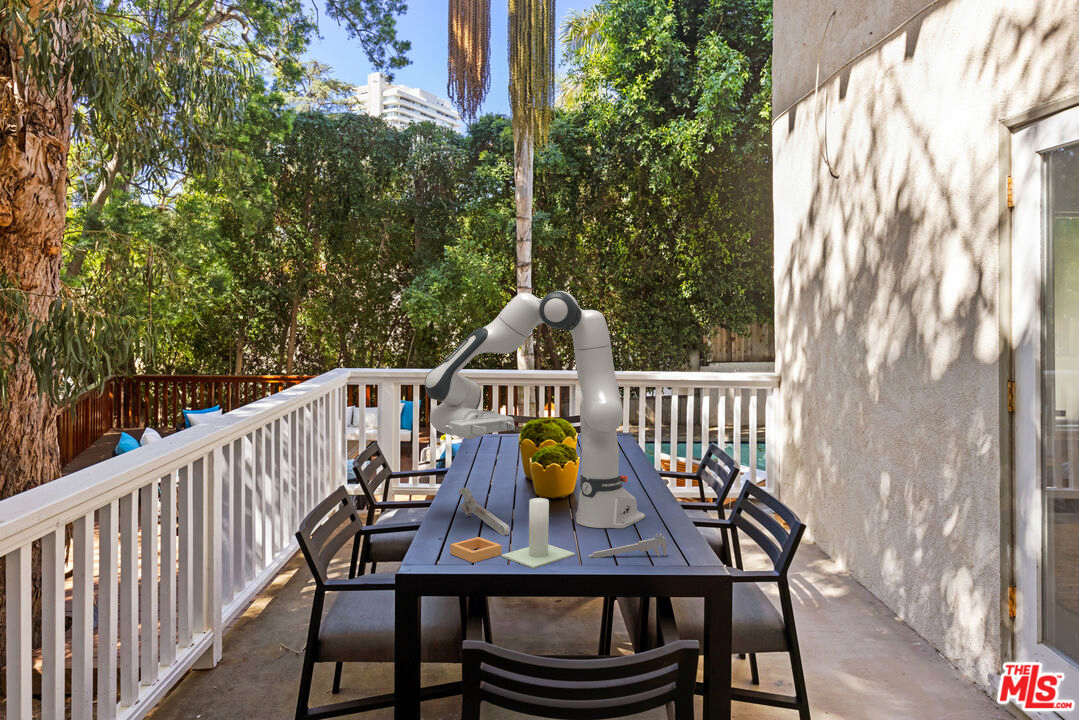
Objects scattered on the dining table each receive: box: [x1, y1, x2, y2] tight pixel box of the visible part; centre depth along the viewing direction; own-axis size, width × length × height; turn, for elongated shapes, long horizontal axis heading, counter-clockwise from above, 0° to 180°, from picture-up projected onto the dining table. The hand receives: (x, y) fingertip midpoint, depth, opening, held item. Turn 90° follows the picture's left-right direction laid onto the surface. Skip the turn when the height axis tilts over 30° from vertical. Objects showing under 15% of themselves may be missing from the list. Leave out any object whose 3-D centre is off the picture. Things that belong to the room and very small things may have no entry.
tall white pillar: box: [528, 497, 550, 557], centre depth 186 cm, size 5×5×14 cm
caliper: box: [587, 532, 668, 559], centre depth 187 cm, size 20×1×6 cm, turn 95°
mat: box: [500, 543, 576, 570], centre depth 187 cm, size 15×12×1 cm
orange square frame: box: [449, 536, 502, 564], centre depth 188 cm, size 9×9×2 cm
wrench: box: [457, 487, 511, 537], centre depth 216 cm, size 8×2×30 cm
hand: (500, 429), depth 204 cm, fingers open, 8 cm apart
